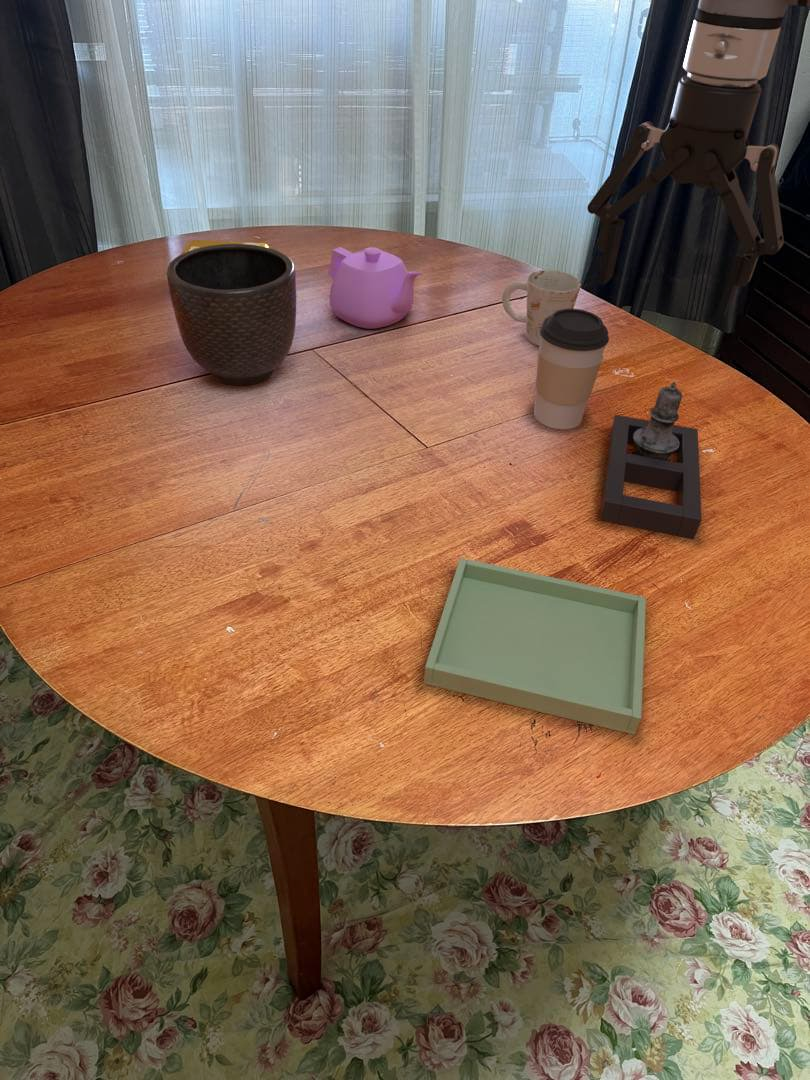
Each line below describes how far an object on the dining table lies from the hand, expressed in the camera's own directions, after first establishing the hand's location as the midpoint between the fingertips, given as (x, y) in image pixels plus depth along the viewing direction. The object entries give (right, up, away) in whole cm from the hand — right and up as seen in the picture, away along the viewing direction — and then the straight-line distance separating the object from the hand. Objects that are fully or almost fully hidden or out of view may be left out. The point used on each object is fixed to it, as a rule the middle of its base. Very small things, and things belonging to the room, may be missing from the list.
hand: (661, 296), depth 85 cm
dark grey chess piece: (+4, -17, +16) cm, 23 cm away
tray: (-16, -38, -10) cm, 42 cm away
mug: (-8, +7, +42) cm, 43 cm away
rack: (+2, -20, +12) cm, 23 cm away
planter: (-53, -2, +29) cm, 61 cm away
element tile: (-62, +20, +54) cm, 84 cm away
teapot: (-34, +11, +45) cm, 58 cm away
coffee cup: (-7, -10, +23) cm, 26 cm away
